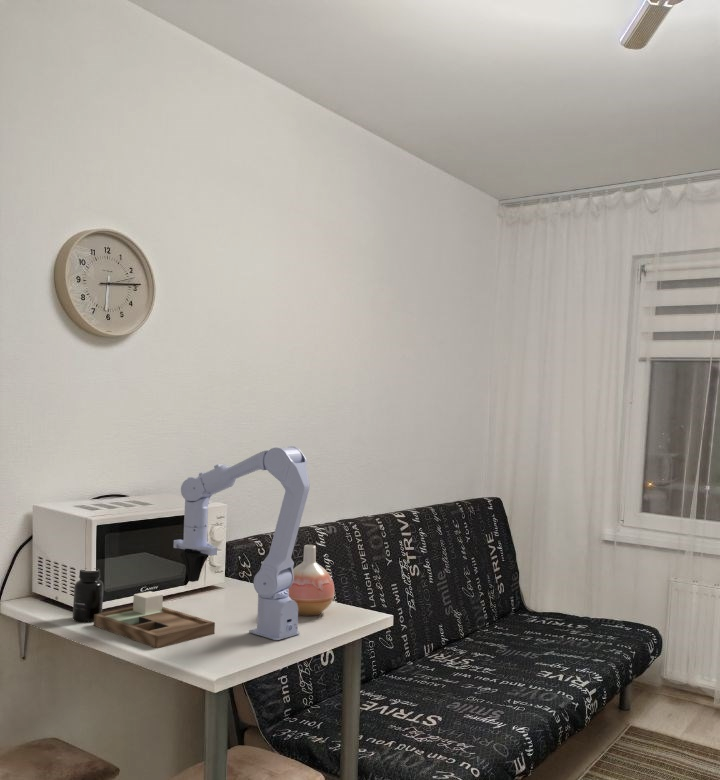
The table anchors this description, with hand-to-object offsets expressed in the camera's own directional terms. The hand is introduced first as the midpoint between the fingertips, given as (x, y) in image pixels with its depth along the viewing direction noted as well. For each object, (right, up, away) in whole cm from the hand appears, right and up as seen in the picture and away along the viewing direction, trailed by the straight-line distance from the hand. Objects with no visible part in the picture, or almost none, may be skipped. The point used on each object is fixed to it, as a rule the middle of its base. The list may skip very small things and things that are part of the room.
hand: (193, 580), depth 191 cm
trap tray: (-8, -9, -8) cm, 15 cm away
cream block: (-12, -8, +1) cm, 14 cm away
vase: (+27, -11, +11) cm, 32 cm away
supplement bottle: (-26, -9, -1) cm, 27 cm away
